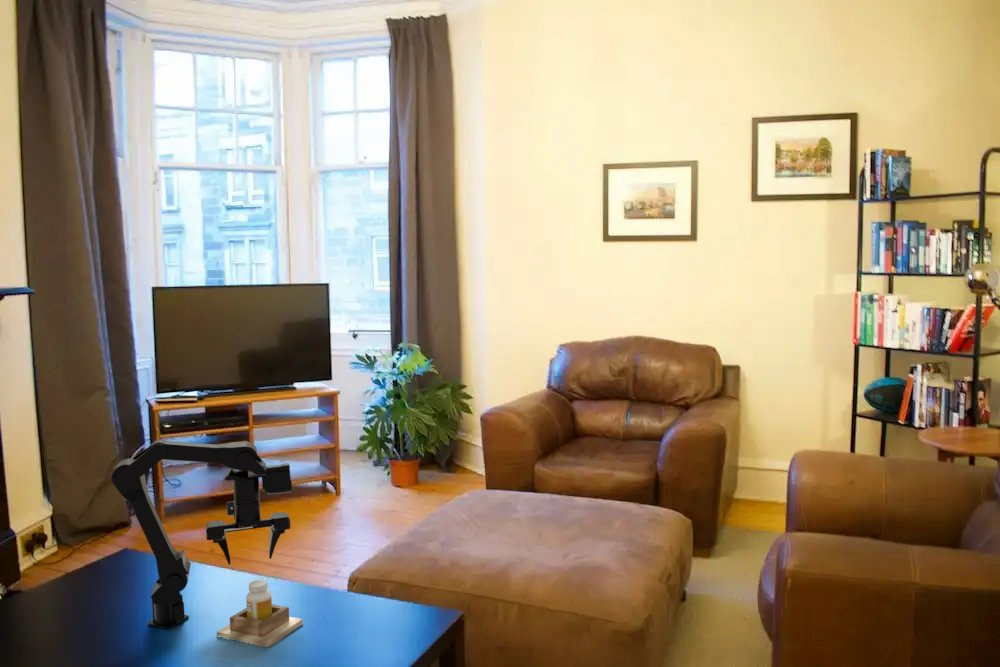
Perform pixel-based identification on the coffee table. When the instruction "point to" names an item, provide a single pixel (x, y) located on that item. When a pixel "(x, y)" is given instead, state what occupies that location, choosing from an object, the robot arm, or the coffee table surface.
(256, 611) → the supplement bottle
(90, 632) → the coffee table surface
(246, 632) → the collar board
